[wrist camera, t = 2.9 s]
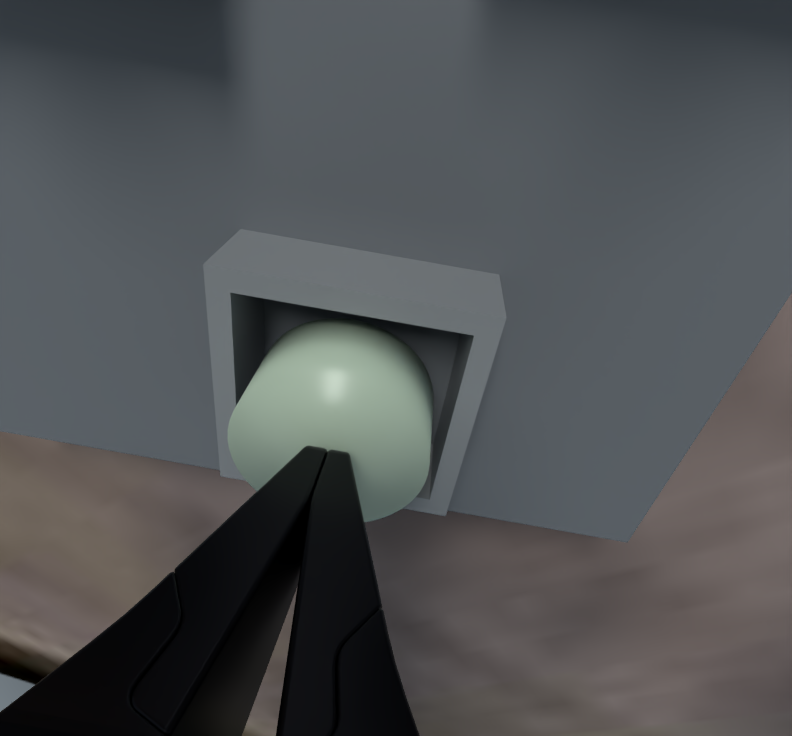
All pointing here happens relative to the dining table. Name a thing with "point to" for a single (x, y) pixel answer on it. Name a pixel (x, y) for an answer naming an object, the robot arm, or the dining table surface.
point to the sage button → (339, 410)
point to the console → (399, 224)
